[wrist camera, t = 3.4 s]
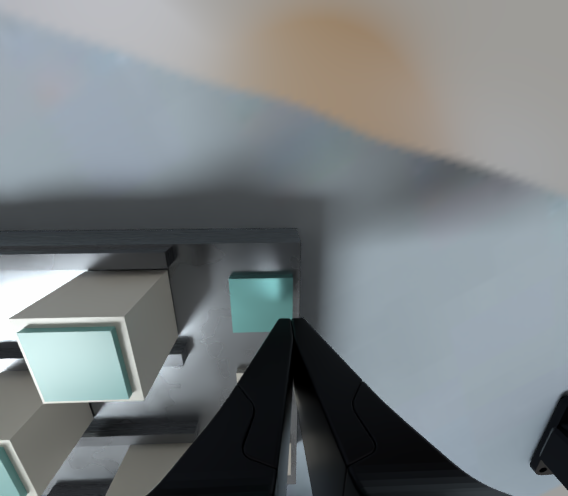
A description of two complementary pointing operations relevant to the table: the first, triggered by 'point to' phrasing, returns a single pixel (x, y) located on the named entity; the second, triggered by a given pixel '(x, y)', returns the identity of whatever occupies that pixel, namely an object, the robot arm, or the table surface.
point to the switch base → (189, 319)
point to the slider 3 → (145, 468)
